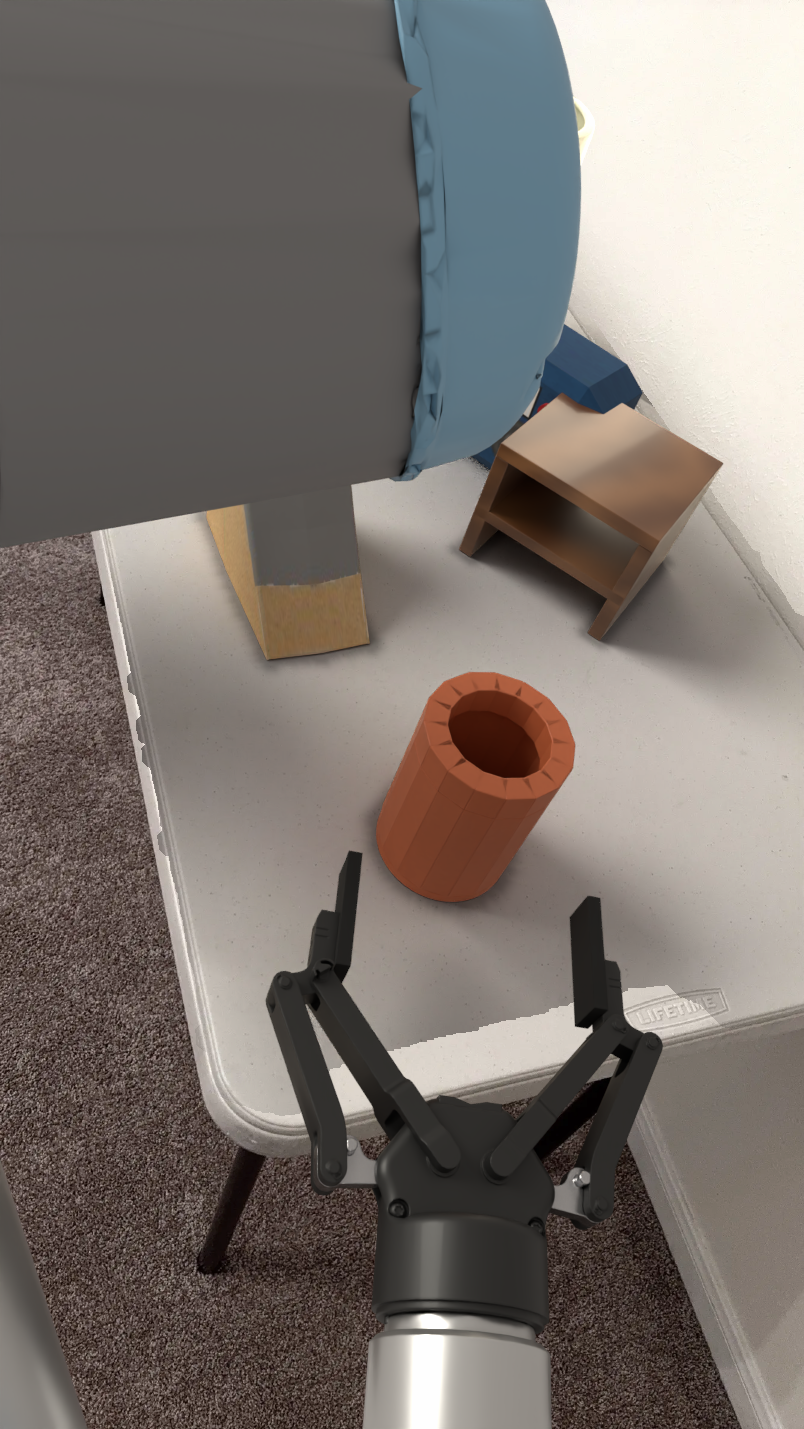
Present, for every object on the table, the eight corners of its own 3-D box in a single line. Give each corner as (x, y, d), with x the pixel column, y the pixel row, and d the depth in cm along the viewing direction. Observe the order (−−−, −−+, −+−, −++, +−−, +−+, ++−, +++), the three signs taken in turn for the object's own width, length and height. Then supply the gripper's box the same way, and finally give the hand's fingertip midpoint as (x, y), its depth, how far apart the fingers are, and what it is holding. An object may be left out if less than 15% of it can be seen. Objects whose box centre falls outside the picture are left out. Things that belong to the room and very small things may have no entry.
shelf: (458, 549, 82) (500, 442, 74) (534, 479, 91) (579, 377, 83) (599, 641, 80) (659, 541, 71) (663, 560, 88) (724, 462, 80)
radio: (375, 400, 93) (429, 185, 78) (431, 373, 98) (492, 166, 83) (549, 524, 87) (643, 318, 72) (599, 488, 93) (696, 289, 77)
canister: (349, 845, 62) (394, 733, 53) (422, 762, 68) (474, 647, 58) (463, 929, 60) (530, 828, 51) (528, 836, 66) (599, 731, 57)
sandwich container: (263, 662, 69) (298, 499, 58) (201, 515, 77) (221, 345, 66) (373, 645, 73) (426, 488, 62) (303, 506, 81) (339, 344, 69)
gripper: (155, 1311, 42) (239, 877, 56) (691, 1372, 46) (648, 952, 59) (166, 1282, 36) (257, 807, 50) (777, 1354, 40) (708, 894, 54)
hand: (469, 885), depth 55 cm, fingers open, 13 cm apart
